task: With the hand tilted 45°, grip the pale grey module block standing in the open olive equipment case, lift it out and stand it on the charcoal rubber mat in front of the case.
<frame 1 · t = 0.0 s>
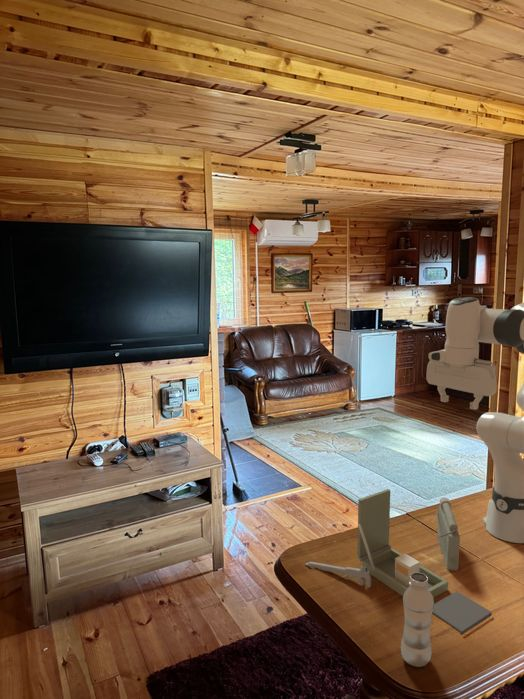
hand: (458, 405, 139), 48 cm above the table, tool pointing down, fingers open, 8 cm apart
geiger counter: (443, 549, 154), on the table
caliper: (336, 577, 141), on the table
equipment case: (403, 580, 138), on the table
module block: (406, 583, 136), point 1 cm above the table, touching equipment case
plastic bottle: (415, 660, 110), on the table
rubber mat: (458, 613, 125), on the table
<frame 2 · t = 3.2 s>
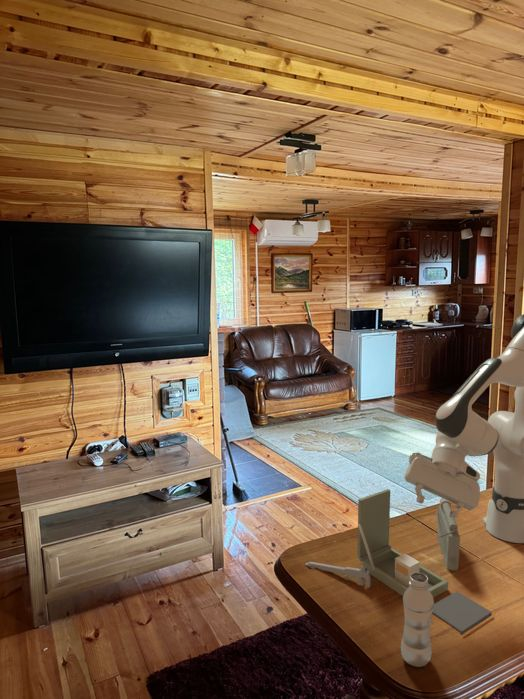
hand: (436, 509, 133), 22 cm above the table, tool tilted 50°, fingers open, 8 cm apart
nothing on the table moved.
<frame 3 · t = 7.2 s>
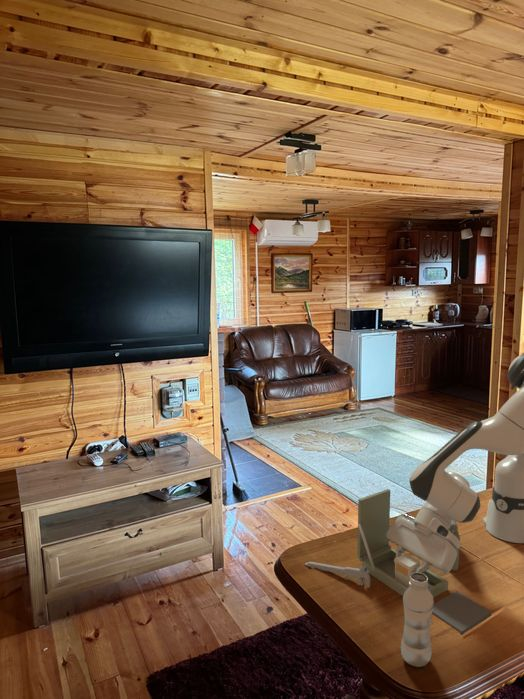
hand: (405, 569, 135), 5 cm above the table, tool tilted 45°, fingers closed on module block, 5 cm apart
module block: (406, 583, 136), point 1 cm above the table, touching equipment case, gripper
everything else where it was.
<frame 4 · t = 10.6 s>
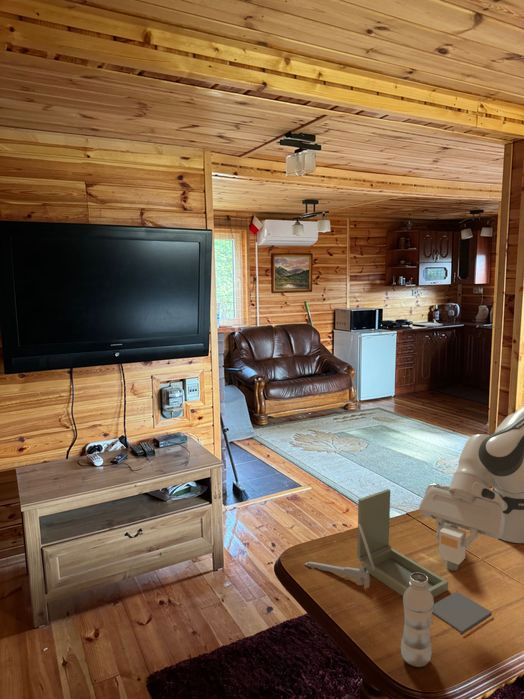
hand: (451, 542, 123), 19 cm above the table, tool tilted 45°, fingers closed on module block, 5 cm apart
module block: (452, 557, 124), point 14 cm above the table, touching gripper
everything else where it was.
when the fingers open (7 cm above the table, at t = 14.1 s): module block drops 1 cm, resting on rubber mat.
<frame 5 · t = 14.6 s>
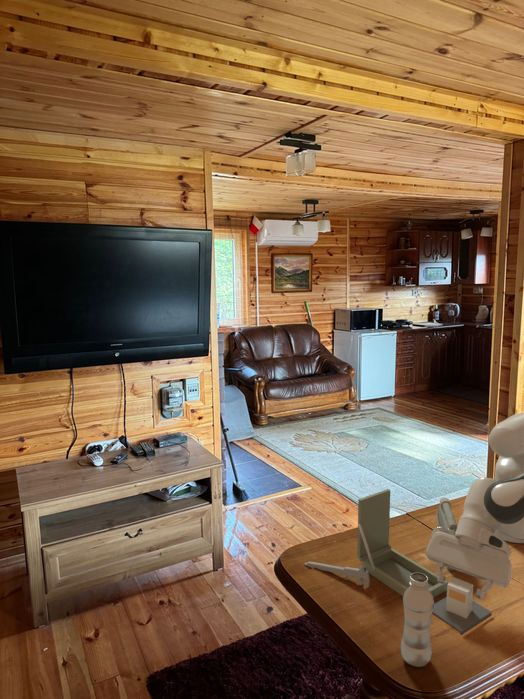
hand: (459, 589, 123), 7 cm above the table, tool tilted 45°, fingers open, 8 cm apart
module block: (459, 610, 125), point 1 cm above the table, touching rubber mat
everything else where it was.
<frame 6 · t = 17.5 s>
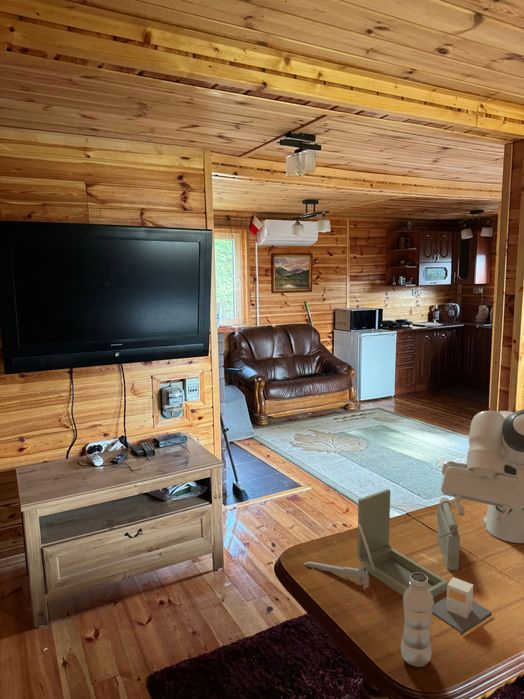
hand: (480, 519, 127), 22 cm above the table, tool tilted 40°, fingers open, 8 cm apart
nothing on the table moved.
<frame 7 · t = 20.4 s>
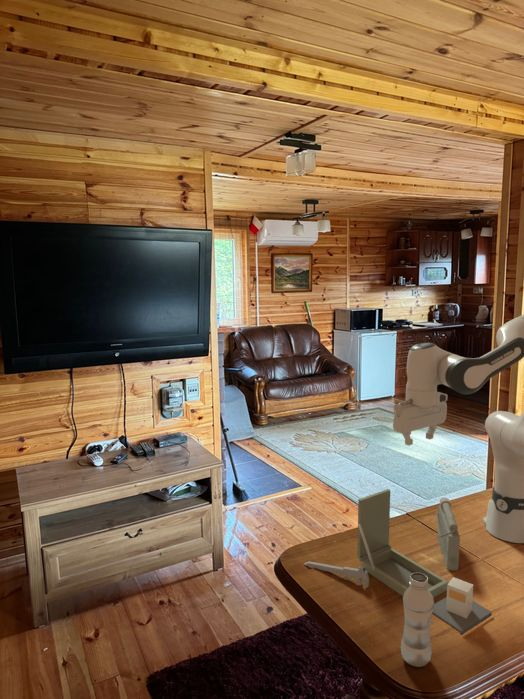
hand: (419, 441, 150), 34 cm above the table, tool pointing down, fingers open, 8 cm apart
nothing on the table moved.
at the end: module block inside the target area on the rubber mat (0.1 cm from its centre), point 1.0 cm above the rubber mat's base; module block tilted 0°; the gripper is holding nothing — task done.
